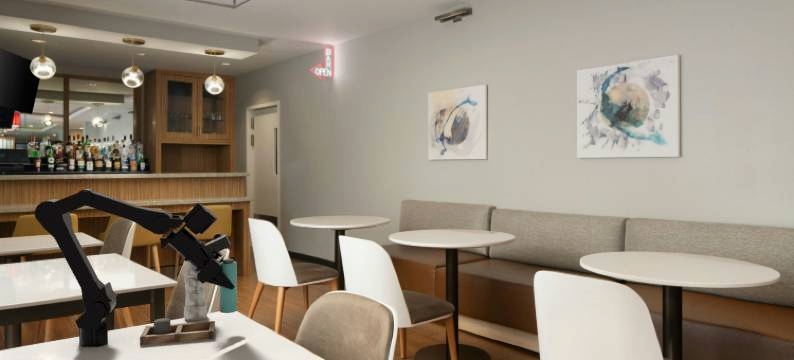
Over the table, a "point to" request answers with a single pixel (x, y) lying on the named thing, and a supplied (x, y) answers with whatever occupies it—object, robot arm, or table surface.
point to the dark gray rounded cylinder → (162, 326)
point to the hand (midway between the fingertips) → (233, 286)
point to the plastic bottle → (194, 295)
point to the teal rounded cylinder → (227, 295)
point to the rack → (179, 333)
